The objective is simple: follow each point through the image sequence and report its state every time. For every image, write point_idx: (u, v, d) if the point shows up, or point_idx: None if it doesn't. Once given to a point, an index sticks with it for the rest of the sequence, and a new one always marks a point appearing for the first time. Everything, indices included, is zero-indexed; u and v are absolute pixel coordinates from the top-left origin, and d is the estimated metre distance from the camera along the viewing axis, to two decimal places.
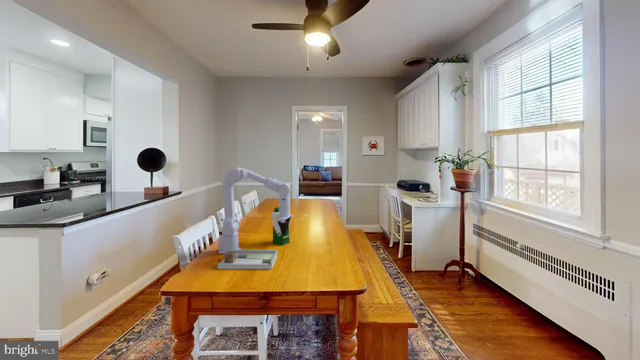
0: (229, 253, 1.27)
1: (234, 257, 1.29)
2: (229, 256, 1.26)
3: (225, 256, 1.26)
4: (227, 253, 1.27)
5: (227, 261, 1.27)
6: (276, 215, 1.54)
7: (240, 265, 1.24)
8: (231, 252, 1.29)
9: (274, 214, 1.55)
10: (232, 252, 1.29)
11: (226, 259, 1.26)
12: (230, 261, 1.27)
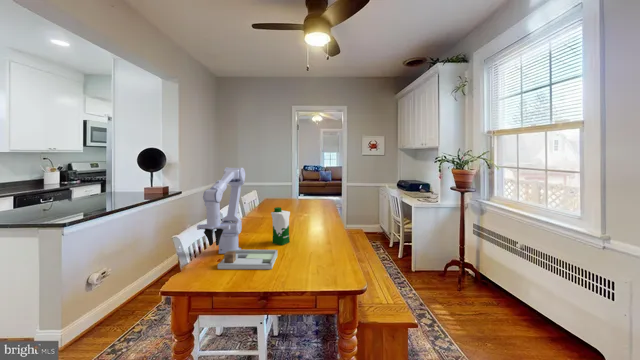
0: (229, 253, 1.27)
1: (234, 257, 1.29)
2: (229, 256, 1.26)
3: (225, 256, 1.26)
4: (227, 253, 1.27)
5: (227, 261, 1.27)
6: (276, 215, 1.54)
7: (240, 265, 1.24)
8: (231, 252, 1.29)
9: (274, 214, 1.55)
10: (232, 252, 1.29)
11: (226, 259, 1.26)
12: (230, 261, 1.27)
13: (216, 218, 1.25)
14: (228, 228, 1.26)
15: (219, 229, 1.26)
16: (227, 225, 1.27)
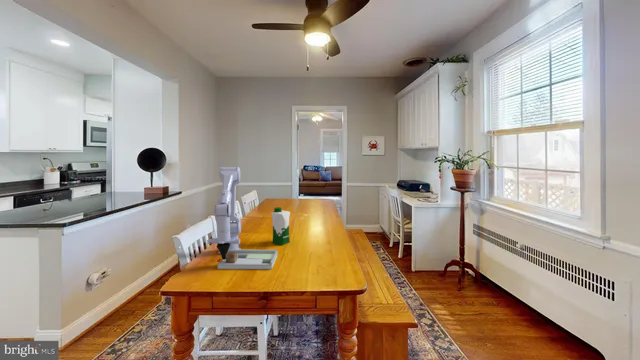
0: (230, 253, 1.27)
1: (236, 257, 1.28)
2: (231, 256, 1.26)
3: (227, 256, 1.26)
4: (229, 253, 1.27)
5: (229, 261, 1.26)
6: (276, 215, 1.54)
7: (240, 265, 1.24)
8: (232, 252, 1.29)
9: (274, 214, 1.55)
10: (234, 252, 1.29)
11: (227, 259, 1.26)
12: (232, 261, 1.26)
13: (226, 232, 1.25)
14: (238, 242, 1.27)
15: (229, 243, 1.27)
16: (237, 239, 1.27)
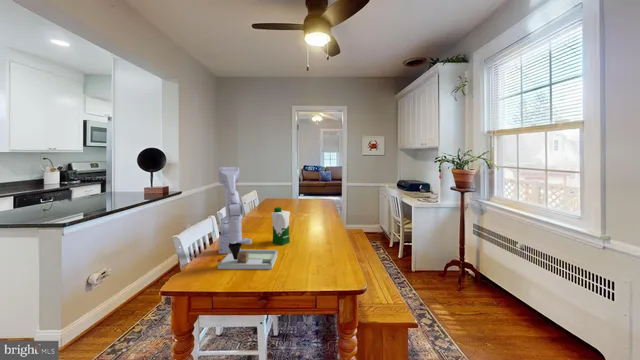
0: (242, 253, 1.27)
1: (247, 257, 1.28)
2: (242, 256, 1.26)
3: (238, 256, 1.26)
4: (240, 253, 1.27)
5: (240, 261, 1.26)
6: (276, 215, 1.54)
7: (240, 265, 1.24)
8: (244, 252, 1.29)
9: (274, 214, 1.55)
10: (245, 252, 1.29)
11: (239, 259, 1.26)
12: (243, 261, 1.26)
13: (238, 232, 1.25)
14: (250, 242, 1.27)
15: (241, 243, 1.27)
16: (249, 239, 1.27)
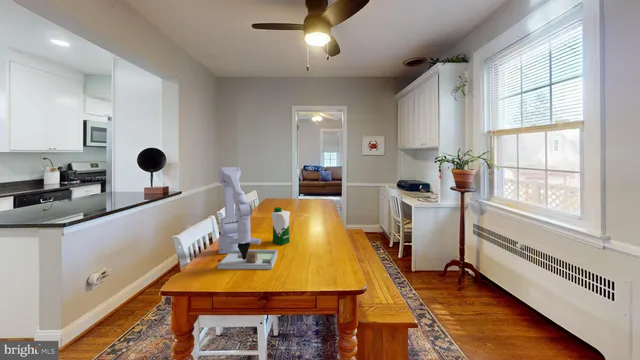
0: (251, 254, 1.27)
1: (256, 257, 1.28)
2: (251, 257, 1.26)
3: (247, 256, 1.26)
4: (249, 253, 1.27)
5: (249, 261, 1.26)
6: (276, 215, 1.54)
7: (240, 265, 1.24)
8: (252, 252, 1.29)
9: (274, 214, 1.55)
10: (254, 252, 1.29)
11: (248, 259, 1.26)
12: (252, 261, 1.26)
13: (247, 233, 1.25)
14: (259, 242, 1.27)
15: (250, 243, 1.27)
16: (257, 239, 1.27)
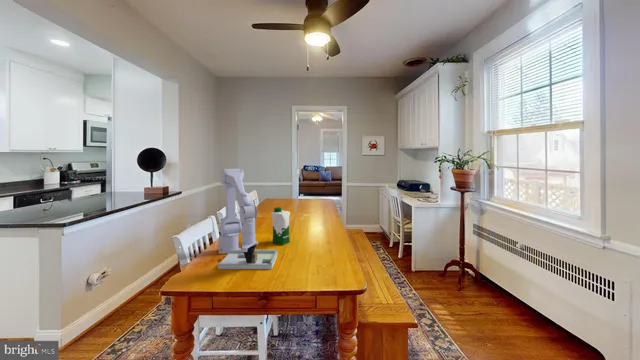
0: None
1: (256, 257, 1.28)
2: None
3: None
4: None
5: None
6: (276, 215, 1.54)
7: (240, 265, 1.24)
8: None
9: (274, 214, 1.55)
10: (254, 252, 1.29)
11: None
12: (252, 261, 1.26)
13: None
14: None
15: None
16: None
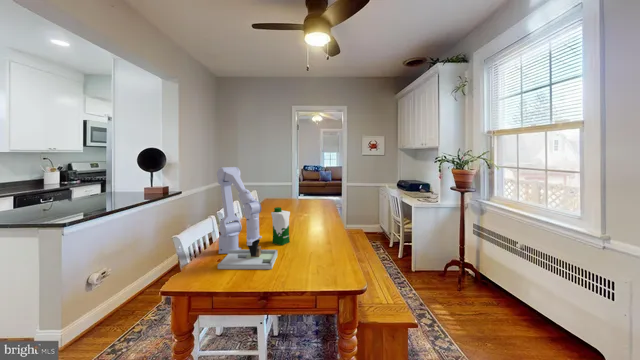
0: None
1: (260, 251, 1.36)
2: None
3: None
4: None
5: None
6: (276, 215, 1.54)
7: (240, 265, 1.24)
8: None
9: (274, 214, 1.55)
10: (258, 247, 1.36)
11: None
12: (256, 255, 1.34)
13: None
14: None
15: None
16: None
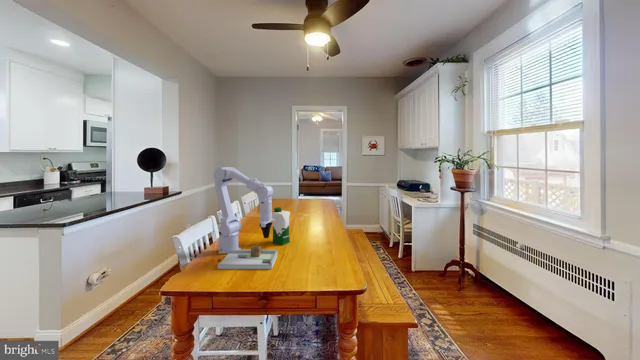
0: (255, 248, 1.34)
1: (260, 251, 1.36)
2: (255, 251, 1.34)
3: (251, 250, 1.34)
4: (253, 247, 1.35)
5: (253, 255, 1.34)
6: (276, 215, 1.54)
7: (240, 265, 1.24)
8: (256, 246, 1.36)
9: (274, 214, 1.55)
10: (258, 247, 1.36)
11: (252, 253, 1.34)
12: (256, 255, 1.34)
13: None
14: None
15: None
16: None
